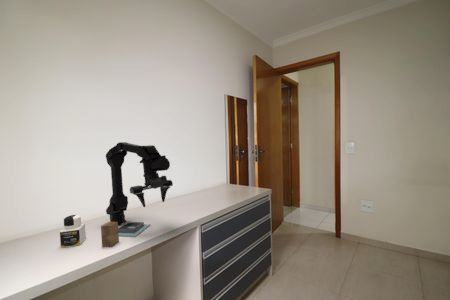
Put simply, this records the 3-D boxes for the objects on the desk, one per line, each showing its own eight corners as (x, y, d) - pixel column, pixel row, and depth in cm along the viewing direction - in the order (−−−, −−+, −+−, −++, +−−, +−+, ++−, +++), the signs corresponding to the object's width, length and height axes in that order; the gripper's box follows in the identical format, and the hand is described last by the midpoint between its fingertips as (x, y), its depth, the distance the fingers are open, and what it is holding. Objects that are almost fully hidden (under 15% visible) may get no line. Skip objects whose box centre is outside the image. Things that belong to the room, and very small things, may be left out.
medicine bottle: (60, 248, 87) (58, 220, 86) (68, 240, 93) (66, 214, 93) (80, 245, 89) (78, 217, 88) (86, 238, 95) (84, 212, 95)
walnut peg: (102, 246, 86) (100, 225, 86) (109, 241, 91) (108, 221, 91) (111, 247, 86) (110, 226, 85) (118, 242, 90) (117, 221, 90)
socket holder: (110, 236, 97) (110, 230, 96) (127, 224, 109) (127, 220, 109) (135, 236, 95) (135, 231, 94) (150, 225, 107) (150, 220, 107)
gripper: (136, 175, 85) (140, 212, 85) (176, 168, 98) (180, 201, 98) (127, 175, 94) (131, 209, 94) (165, 169, 106) (169, 199, 106)
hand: (154, 204), depth 98 cm, fingers open, 9 cm apart
